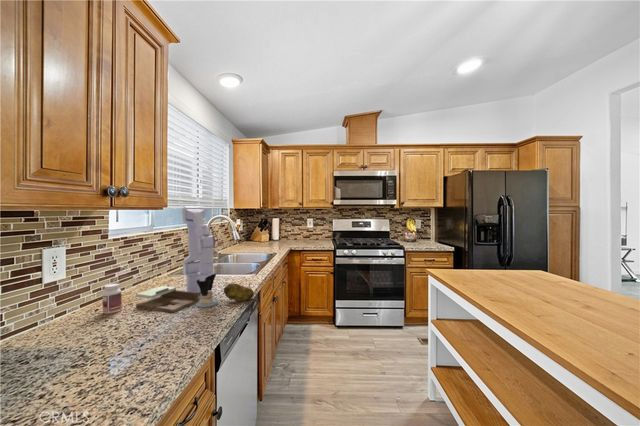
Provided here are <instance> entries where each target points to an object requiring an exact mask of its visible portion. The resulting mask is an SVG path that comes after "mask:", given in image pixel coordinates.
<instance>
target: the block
mask: <svg viewBox="0 0 640 426" xmlns="http://www.w3.org/2000/svg"><path fill="white" fill-rule="evenodd" d="M213 299H214V298H213V291H208V294H207V296H202V294H200V300H201V304H208V303H211V302H212V300H213Z"/></svg>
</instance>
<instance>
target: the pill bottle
mask: <svg viewBox="0 0 640 426" xmlns="http://www.w3.org/2000/svg"><path fill="white" fill-rule="evenodd" d="M104 290H105V291H103V292H102V312H103V314H105V315H108V314H115V313H119V312H120V311H121V310H122V307H123V306H122V305H123V304H122V303H123V302H122V300H123V299H122V289H120V284H119V283H110V284H106V285H104Z"/></svg>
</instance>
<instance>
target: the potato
mask: <svg viewBox="0 0 640 426" xmlns="http://www.w3.org/2000/svg"><path fill="white" fill-rule="evenodd" d="M223 293H224V295H225V297H226V298H227V299H229V300H230V299H231V300H234V301H236V302H245V301H248V300H250V299H252V298H253V297H254V293H255V292H254V290H253V289H251V288H249V287H247V286H243V285H240V284H238V283H231V282H230V283H229V284H227V285H226V286H225V287H224V288H223Z"/></svg>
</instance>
